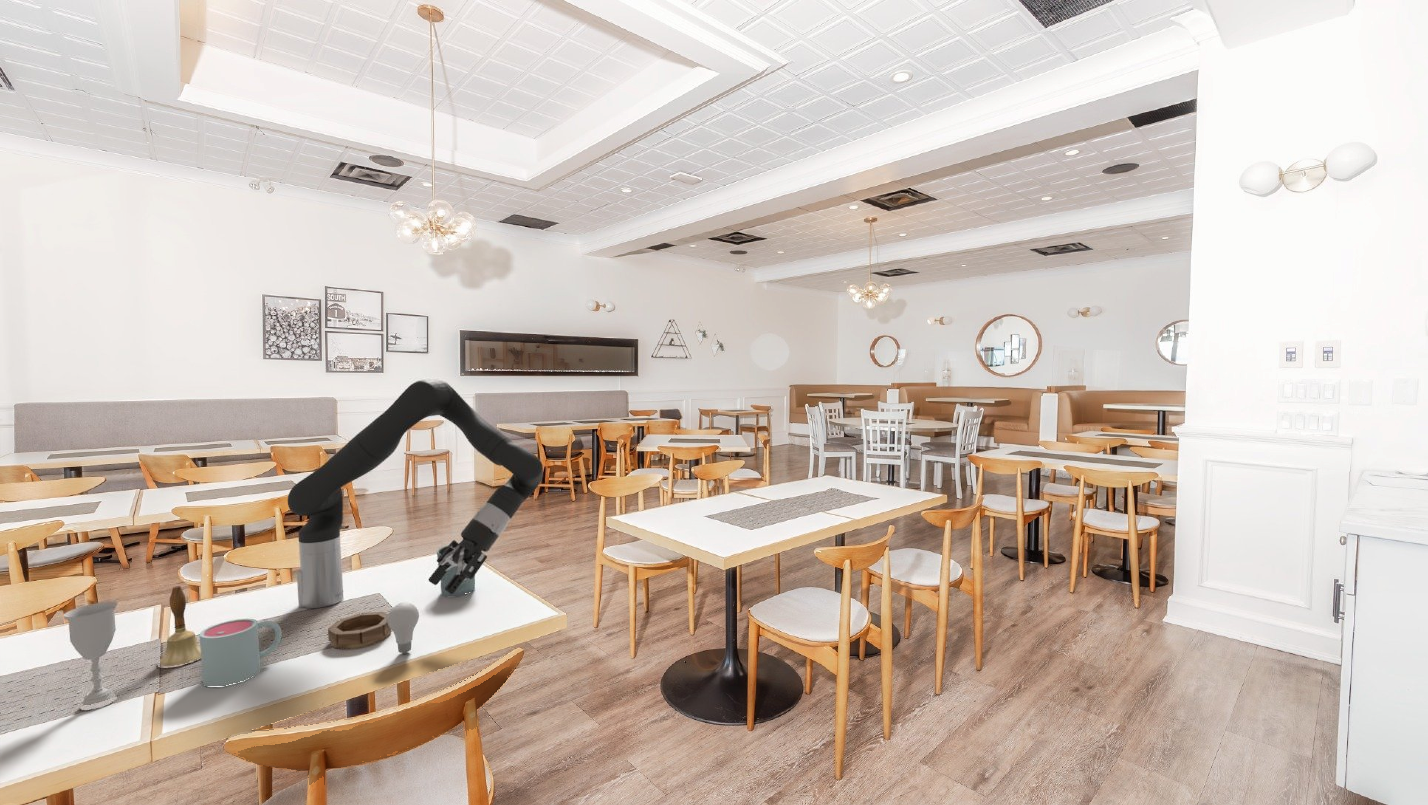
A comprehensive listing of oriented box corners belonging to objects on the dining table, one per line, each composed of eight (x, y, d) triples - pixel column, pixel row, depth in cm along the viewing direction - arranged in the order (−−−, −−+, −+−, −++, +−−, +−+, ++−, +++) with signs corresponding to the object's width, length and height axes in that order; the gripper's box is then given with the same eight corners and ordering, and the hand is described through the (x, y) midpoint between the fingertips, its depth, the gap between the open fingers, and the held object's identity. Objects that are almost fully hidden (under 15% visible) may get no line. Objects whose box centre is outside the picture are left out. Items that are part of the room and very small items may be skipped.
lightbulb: (407, 661, 129) (405, 610, 128) (382, 658, 130) (379, 608, 130) (426, 648, 135) (424, 599, 134) (402, 645, 136) (400, 597, 136)
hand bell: (151, 672, 126) (145, 596, 125) (164, 656, 134) (159, 584, 133) (202, 663, 130) (197, 589, 129) (212, 647, 137) (207, 577, 136)
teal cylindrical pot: (465, 582, 177) (463, 541, 176) (485, 589, 171) (484, 546, 170) (431, 593, 168) (429, 550, 168) (451, 601, 162) (449, 556, 162)
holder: (320, 651, 134) (319, 635, 134) (345, 628, 146) (345, 614, 146) (378, 647, 136) (377, 631, 136) (399, 624, 148) (398, 610, 147)
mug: (214, 692, 118) (210, 642, 117) (195, 680, 123) (191, 631, 122) (293, 662, 129) (290, 616, 129) (273, 652, 134) (270, 607, 134)
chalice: (97, 694, 118) (89, 602, 117) (135, 691, 118) (128, 600, 117) (60, 715, 111) (51, 618, 110) (100, 713, 111) (92, 616, 110)
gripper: (461, 513, 148) (414, 572, 141) (489, 522, 139) (441, 586, 131) (482, 530, 153) (438, 588, 145) (512, 540, 143) (466, 603, 135)
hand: (439, 587), depth 138 cm, fingers open, 8 cm apart
